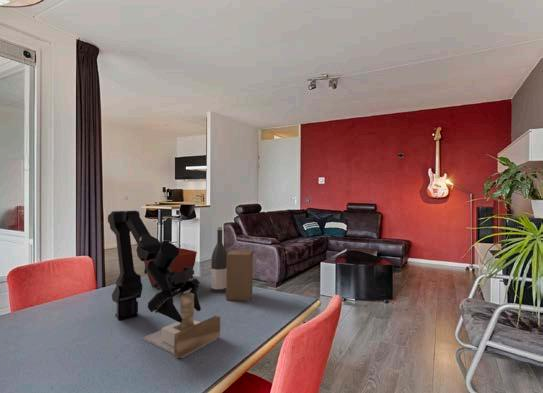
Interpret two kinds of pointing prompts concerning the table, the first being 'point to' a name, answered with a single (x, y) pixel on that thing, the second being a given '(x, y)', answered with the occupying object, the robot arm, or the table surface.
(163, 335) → the socket block
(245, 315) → the table surface
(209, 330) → the rail base
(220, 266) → the wine bottle
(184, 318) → the dowel
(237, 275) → the wooden block
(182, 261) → the plant pot
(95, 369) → the table surface
